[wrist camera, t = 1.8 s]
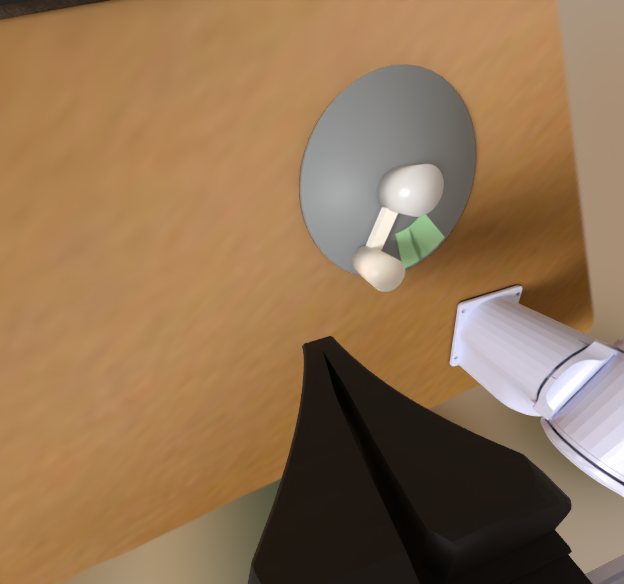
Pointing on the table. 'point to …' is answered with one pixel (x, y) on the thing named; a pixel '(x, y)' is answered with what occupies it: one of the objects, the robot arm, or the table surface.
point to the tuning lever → (395, 199)
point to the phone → (36, 6)
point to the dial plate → (386, 162)
